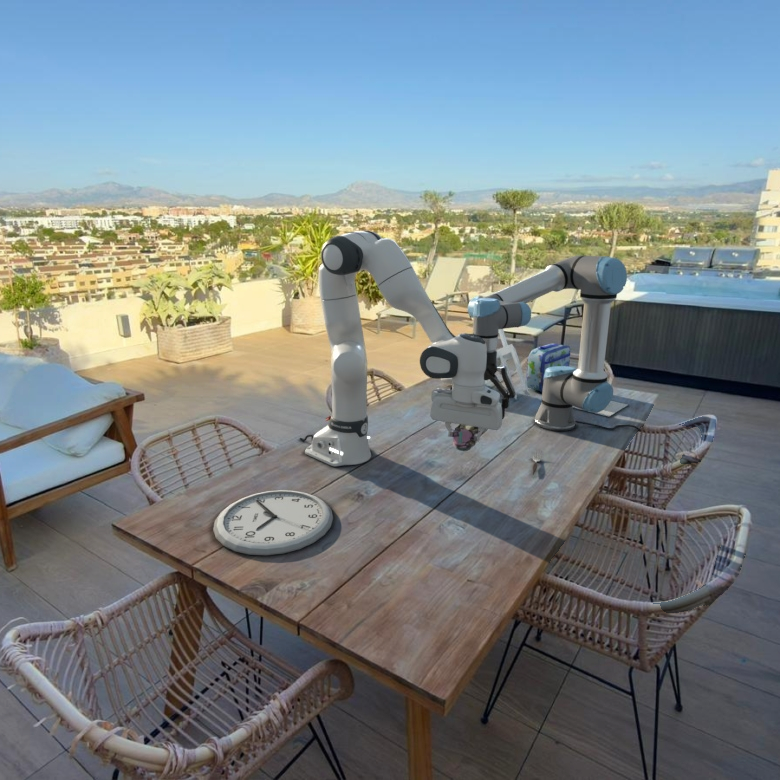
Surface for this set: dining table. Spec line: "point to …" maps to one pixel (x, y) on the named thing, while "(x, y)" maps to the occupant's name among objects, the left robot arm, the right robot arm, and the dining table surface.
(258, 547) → the wall clock
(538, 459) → the fork
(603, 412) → the invitation card
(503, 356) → the white plastic object
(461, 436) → the shoe
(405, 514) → the dining table surface
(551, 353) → the lunch box
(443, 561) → the dining table surface
